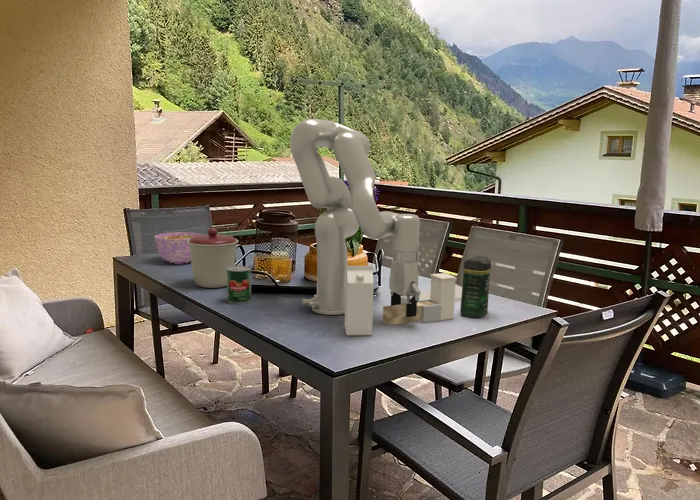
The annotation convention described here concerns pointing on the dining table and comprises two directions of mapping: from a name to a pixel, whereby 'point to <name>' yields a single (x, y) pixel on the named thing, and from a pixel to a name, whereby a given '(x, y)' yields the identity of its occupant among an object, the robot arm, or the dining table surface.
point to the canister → (212, 258)
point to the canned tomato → (239, 284)
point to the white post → (440, 298)
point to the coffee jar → (475, 286)
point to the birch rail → (402, 313)
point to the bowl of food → (175, 246)
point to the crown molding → (427, 295)
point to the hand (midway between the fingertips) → (403, 311)
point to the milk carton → (359, 300)
